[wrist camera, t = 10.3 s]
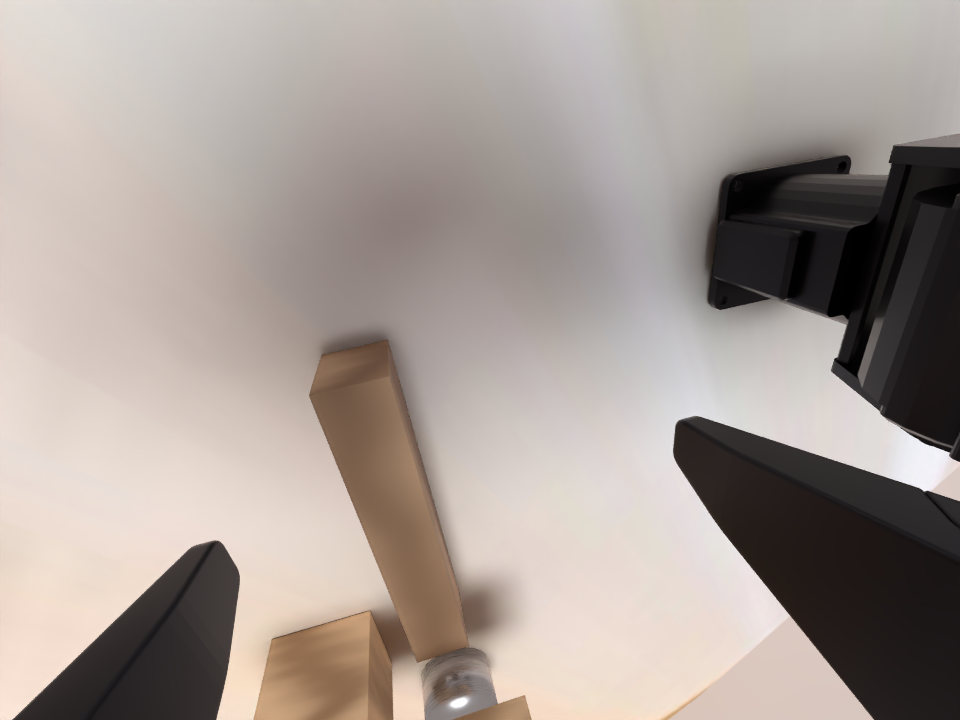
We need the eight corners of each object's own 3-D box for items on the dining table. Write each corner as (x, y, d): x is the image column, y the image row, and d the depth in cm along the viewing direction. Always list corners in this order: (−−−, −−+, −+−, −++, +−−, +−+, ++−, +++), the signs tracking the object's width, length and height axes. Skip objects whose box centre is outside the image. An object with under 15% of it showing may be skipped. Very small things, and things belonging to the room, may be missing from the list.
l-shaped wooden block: (492, 575, 27) (541, 756, 19) (502, 629, 30) (549, 809, 22) (271, 639, 26) (218, 872, 17) (303, 691, 28) (271, 914, 20)
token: (483, 638, 30) (493, 684, 28) (491, 676, 33) (501, 721, 30) (415, 659, 30) (419, 708, 27) (427, 696, 32) (432, 744, 29)
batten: (387, 337, 19) (389, 376, 16) (457, 583, 28) (468, 646, 24) (322, 352, 19) (309, 395, 16) (412, 597, 27) (417, 662, 24)
